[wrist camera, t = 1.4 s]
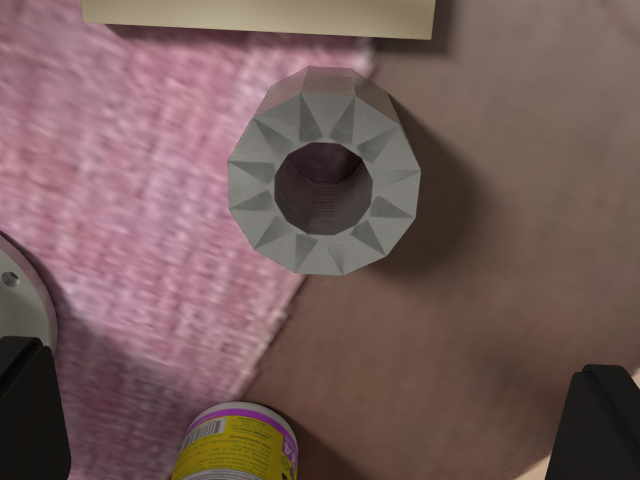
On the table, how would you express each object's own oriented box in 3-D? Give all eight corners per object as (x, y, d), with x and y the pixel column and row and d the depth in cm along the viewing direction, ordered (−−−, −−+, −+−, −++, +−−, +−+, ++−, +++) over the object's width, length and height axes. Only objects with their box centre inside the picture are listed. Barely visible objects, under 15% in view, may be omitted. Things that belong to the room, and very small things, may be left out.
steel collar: (394, 219, 29) (408, 279, 23) (250, 212, 29) (229, 269, 23) (410, 71, 26) (429, 99, 20) (249, 63, 26) (226, 89, 20)
